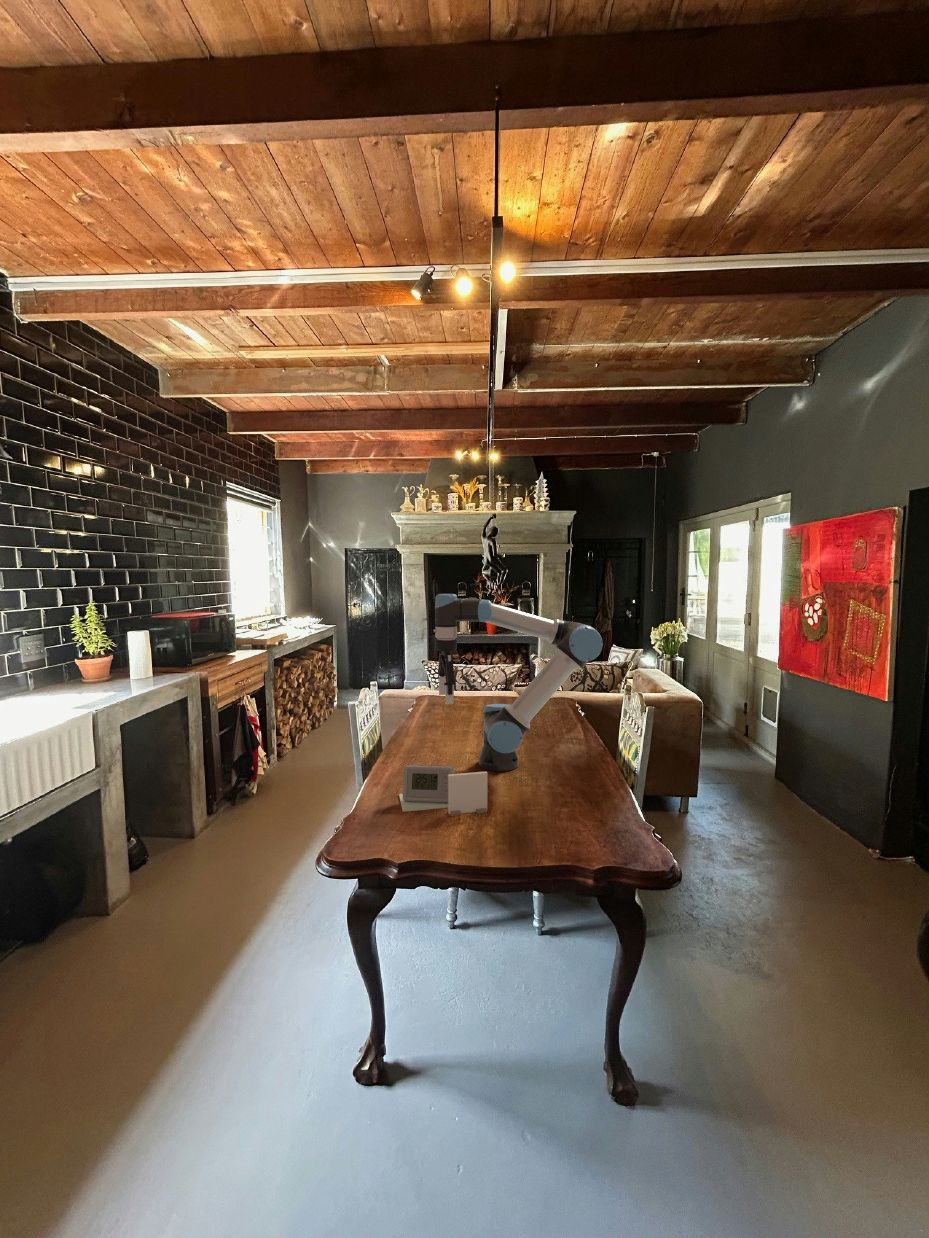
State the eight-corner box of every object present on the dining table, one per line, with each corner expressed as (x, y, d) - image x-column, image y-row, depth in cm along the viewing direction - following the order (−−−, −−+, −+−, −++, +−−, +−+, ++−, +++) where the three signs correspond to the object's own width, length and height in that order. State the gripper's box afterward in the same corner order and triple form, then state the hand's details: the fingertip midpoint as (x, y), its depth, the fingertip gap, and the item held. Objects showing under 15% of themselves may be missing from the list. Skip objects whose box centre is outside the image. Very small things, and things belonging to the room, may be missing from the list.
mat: (456, 790, 179) (456, 789, 179) (463, 806, 167) (463, 804, 167) (399, 795, 175) (399, 793, 175) (402, 811, 163) (402, 809, 163)
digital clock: (399, 802, 169) (399, 769, 168) (410, 790, 177) (410, 759, 176) (448, 808, 164) (448, 774, 163) (457, 796, 173) (457, 764, 172)
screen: (485, 807, 166) (485, 770, 165) (488, 812, 163) (488, 774, 162) (447, 810, 164) (447, 772, 163) (449, 816, 160) (449, 777, 159)
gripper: (430, 634, 196) (430, 691, 198) (441, 643, 172) (441, 708, 174) (450, 634, 198) (450, 690, 200) (464, 643, 173) (463, 707, 175)
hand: (446, 699), depth 187 cm, fingers open, 13 cm apart
